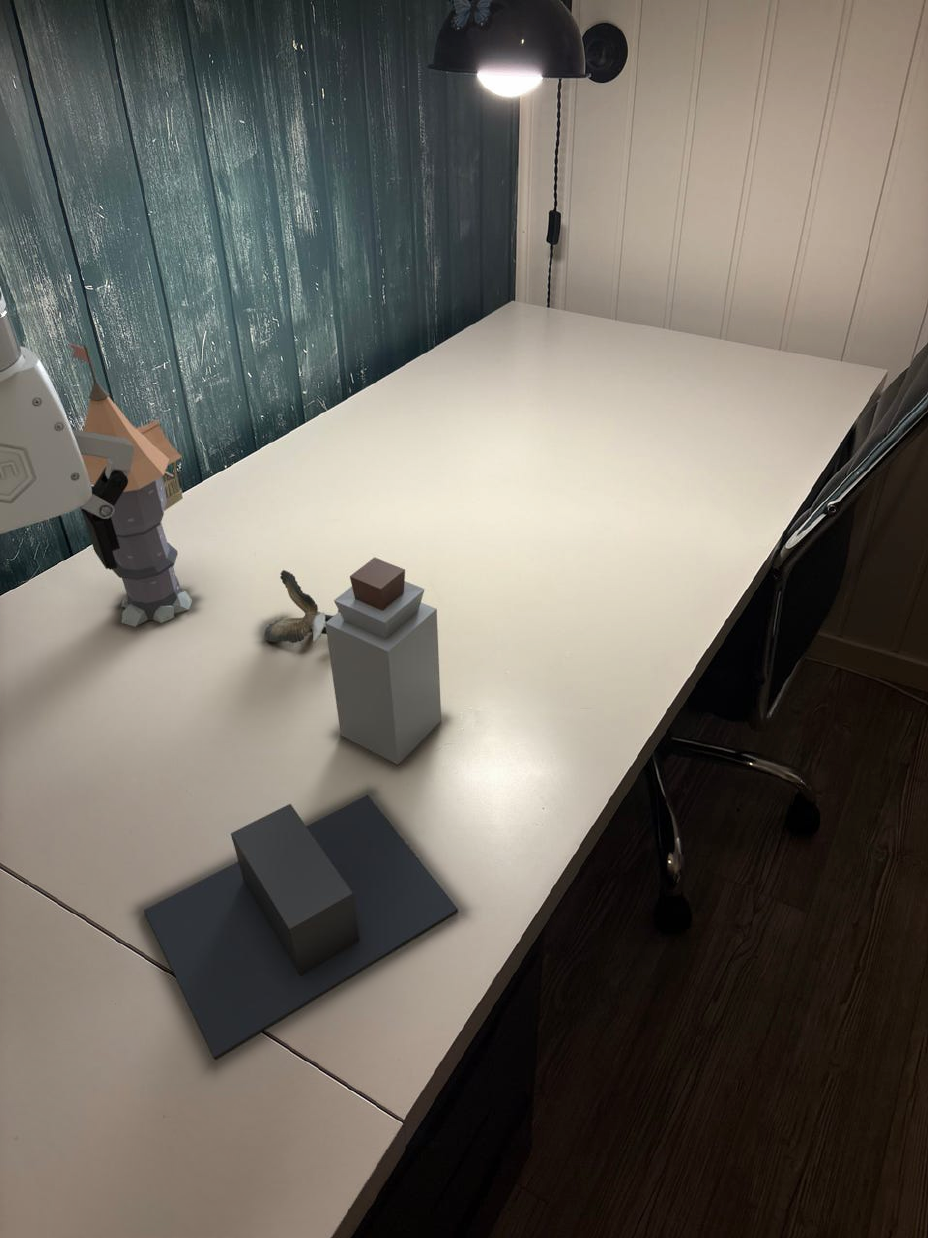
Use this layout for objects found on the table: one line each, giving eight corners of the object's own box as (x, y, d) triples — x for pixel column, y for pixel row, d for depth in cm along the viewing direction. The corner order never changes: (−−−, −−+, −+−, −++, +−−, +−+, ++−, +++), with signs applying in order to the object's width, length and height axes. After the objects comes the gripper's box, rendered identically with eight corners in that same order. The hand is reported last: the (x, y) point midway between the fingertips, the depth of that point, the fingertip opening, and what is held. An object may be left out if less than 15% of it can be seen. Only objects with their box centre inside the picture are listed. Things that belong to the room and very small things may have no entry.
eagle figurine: (362, 605, 99) (287, 579, 100) (353, 584, 93) (272, 556, 94) (336, 669, 97) (259, 642, 99) (324, 653, 91) (241, 623, 92)
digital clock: (361, 939, 69) (354, 892, 65) (300, 976, 67) (289, 929, 63) (301, 850, 75) (292, 802, 71) (243, 881, 73) (230, 833, 69)
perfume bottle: (441, 720, 87) (434, 565, 76) (397, 765, 83) (384, 607, 72) (385, 693, 90) (371, 541, 79) (340, 735, 86) (319, 579, 75)
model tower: (225, 589, 104) (168, 330, 85) (151, 642, 97) (72, 373, 78) (165, 564, 108) (98, 312, 89) (90, 613, 101) (1, 350, 82)
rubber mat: (215, 1059, 62) (214, 1057, 62) (144, 912, 71) (143, 910, 71) (458, 911, 71) (458, 909, 71) (367, 796, 80) (367, 794, 80)
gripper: (-217, 409, 47) (-87, 660, 58) (115, 333, 55) (176, 567, 65) (-228, 362, 52) (-107, 601, 63) (78, 297, 60) (140, 520, 70)
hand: (37, 583), depth 64 cm, fingers open, 9 cm apart
